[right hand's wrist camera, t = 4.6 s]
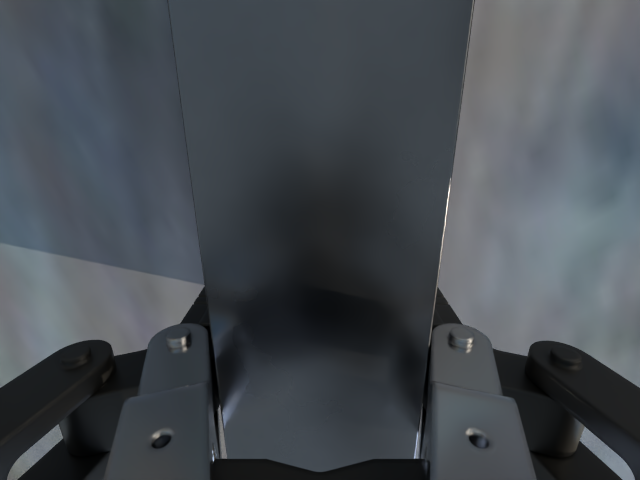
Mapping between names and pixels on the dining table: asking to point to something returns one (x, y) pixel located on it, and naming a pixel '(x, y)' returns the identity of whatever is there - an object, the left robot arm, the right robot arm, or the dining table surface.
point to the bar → (321, 212)
